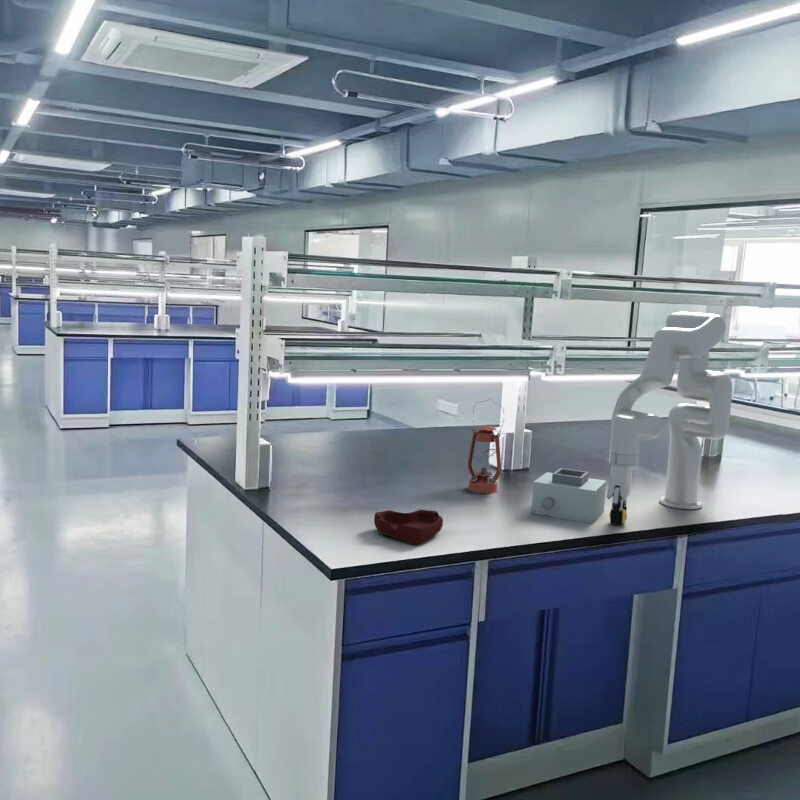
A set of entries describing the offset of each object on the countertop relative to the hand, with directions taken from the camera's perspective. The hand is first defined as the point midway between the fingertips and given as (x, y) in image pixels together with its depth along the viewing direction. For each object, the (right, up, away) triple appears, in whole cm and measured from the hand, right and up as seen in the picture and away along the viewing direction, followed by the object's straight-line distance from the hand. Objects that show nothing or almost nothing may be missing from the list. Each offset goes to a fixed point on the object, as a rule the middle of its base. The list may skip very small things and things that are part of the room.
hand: (617, 521), depth 220 cm
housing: (-13, +1, +8) cm, 15 cm away
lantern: (-35, +5, +30) cm, 47 cm away
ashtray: (-59, -2, -18) cm, 62 cm away
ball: (0, +2, 0) cm, 2 cm away
